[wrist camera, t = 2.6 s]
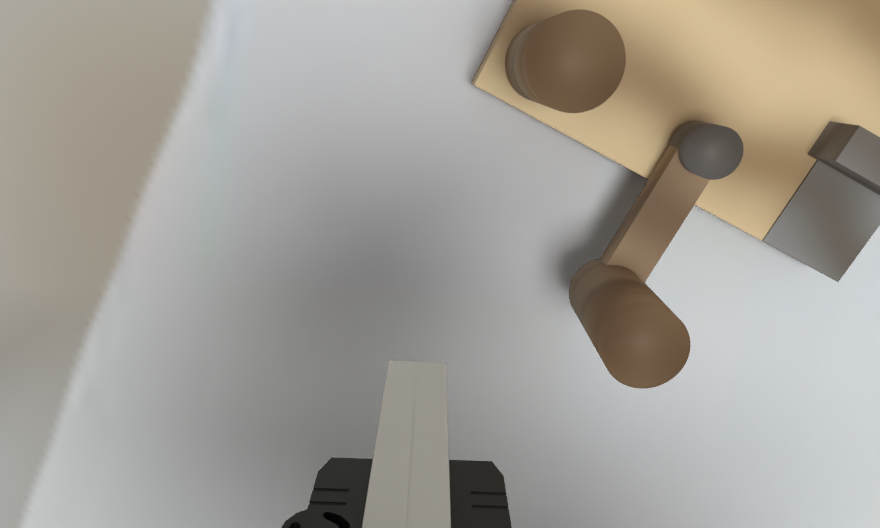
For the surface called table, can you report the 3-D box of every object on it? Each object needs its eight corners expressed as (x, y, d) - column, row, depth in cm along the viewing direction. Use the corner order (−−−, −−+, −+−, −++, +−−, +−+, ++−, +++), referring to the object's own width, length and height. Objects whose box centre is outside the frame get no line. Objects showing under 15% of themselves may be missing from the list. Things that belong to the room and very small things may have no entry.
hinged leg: (614, 334, 29) (659, 401, 23) (556, 305, 29) (586, 366, 23) (739, 140, 27) (822, 162, 21) (677, 105, 26) (745, 117, 20)
